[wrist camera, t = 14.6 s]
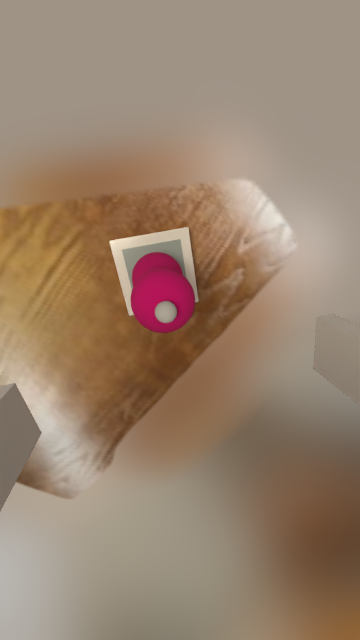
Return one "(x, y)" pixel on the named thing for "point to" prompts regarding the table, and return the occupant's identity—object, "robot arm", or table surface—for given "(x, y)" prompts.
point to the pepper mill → (161, 293)
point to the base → (138, 246)
